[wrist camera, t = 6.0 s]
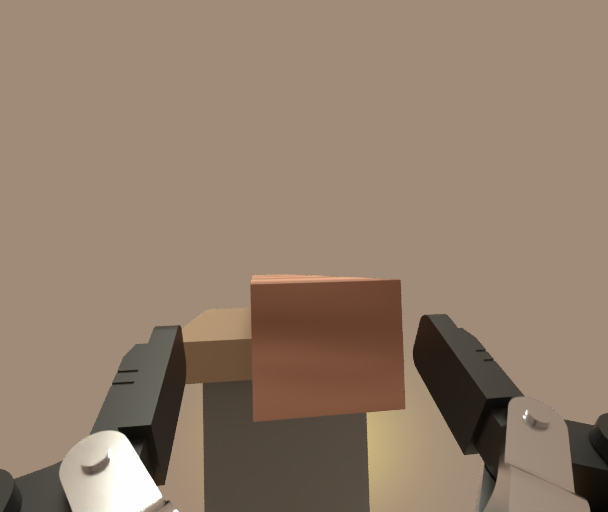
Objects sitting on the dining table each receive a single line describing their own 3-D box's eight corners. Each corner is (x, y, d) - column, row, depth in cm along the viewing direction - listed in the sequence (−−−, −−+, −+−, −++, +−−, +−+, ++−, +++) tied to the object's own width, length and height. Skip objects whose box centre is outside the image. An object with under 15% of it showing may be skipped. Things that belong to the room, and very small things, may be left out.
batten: (405, 409, 8) (400, 279, 8) (253, 421, 8) (250, 284, 8) (290, 306, 34) (289, 274, 34) (253, 307, 34) (253, 275, 34)
